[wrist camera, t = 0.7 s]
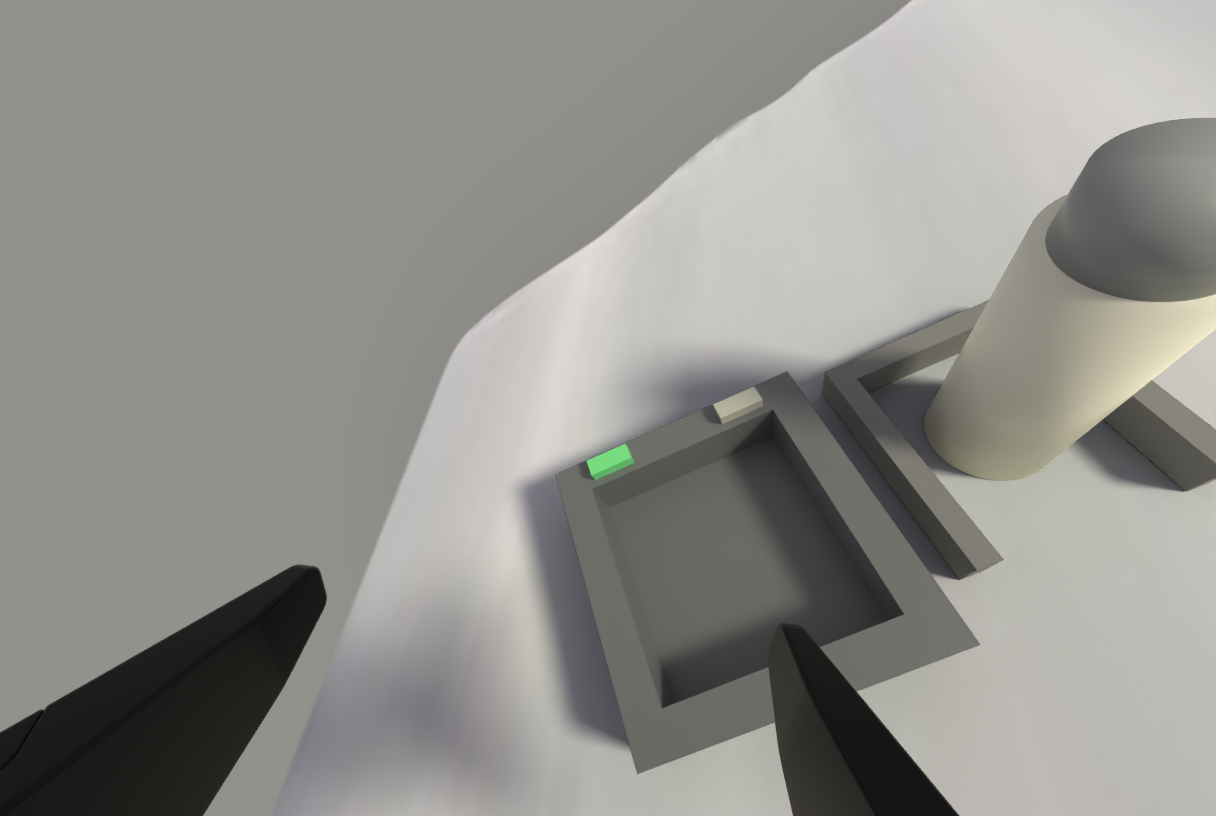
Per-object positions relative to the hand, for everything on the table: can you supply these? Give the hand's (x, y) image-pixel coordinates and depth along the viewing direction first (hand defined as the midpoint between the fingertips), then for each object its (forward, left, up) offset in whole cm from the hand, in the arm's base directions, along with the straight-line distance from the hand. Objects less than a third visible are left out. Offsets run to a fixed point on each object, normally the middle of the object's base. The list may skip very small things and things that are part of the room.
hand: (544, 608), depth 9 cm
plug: (+4, -17, -14) cm, 22 cm away
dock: (+3, -4, -14) cm, 15 cm away
